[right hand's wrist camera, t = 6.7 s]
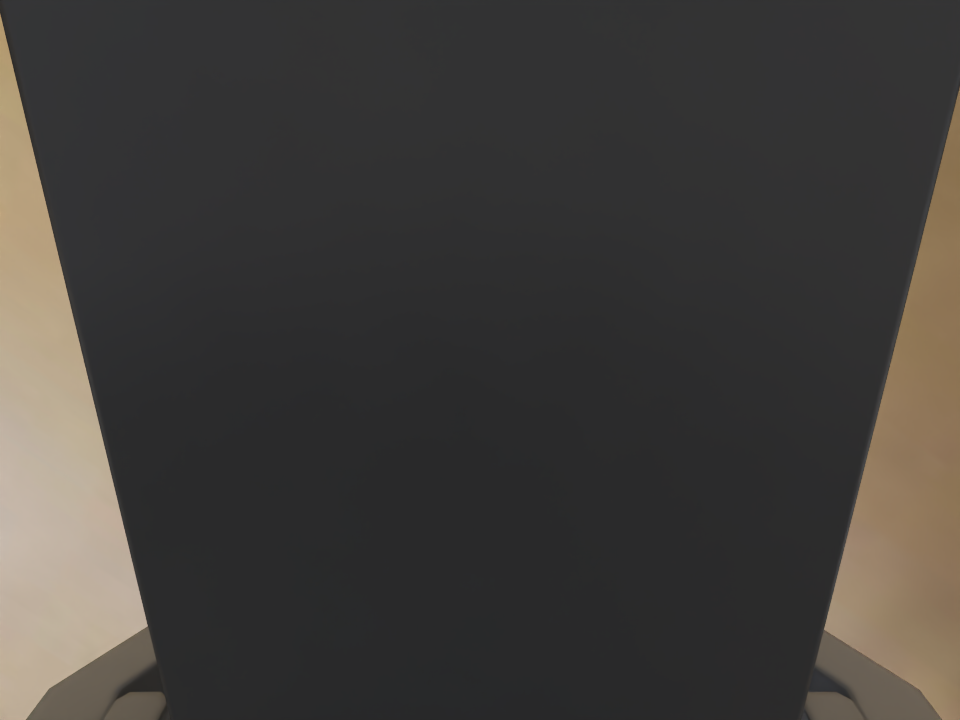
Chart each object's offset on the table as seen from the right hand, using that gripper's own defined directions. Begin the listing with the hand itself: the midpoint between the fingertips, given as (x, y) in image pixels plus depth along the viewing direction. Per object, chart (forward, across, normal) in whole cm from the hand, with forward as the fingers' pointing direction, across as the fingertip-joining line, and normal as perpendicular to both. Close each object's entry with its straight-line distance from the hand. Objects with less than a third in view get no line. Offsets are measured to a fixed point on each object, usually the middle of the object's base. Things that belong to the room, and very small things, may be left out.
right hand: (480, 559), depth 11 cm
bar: (+3, 0, -8) cm, 9 cm away
